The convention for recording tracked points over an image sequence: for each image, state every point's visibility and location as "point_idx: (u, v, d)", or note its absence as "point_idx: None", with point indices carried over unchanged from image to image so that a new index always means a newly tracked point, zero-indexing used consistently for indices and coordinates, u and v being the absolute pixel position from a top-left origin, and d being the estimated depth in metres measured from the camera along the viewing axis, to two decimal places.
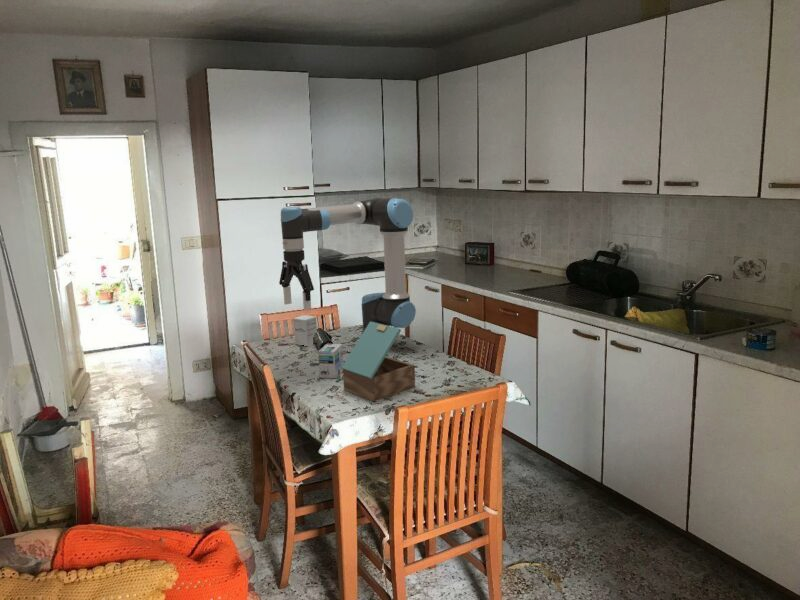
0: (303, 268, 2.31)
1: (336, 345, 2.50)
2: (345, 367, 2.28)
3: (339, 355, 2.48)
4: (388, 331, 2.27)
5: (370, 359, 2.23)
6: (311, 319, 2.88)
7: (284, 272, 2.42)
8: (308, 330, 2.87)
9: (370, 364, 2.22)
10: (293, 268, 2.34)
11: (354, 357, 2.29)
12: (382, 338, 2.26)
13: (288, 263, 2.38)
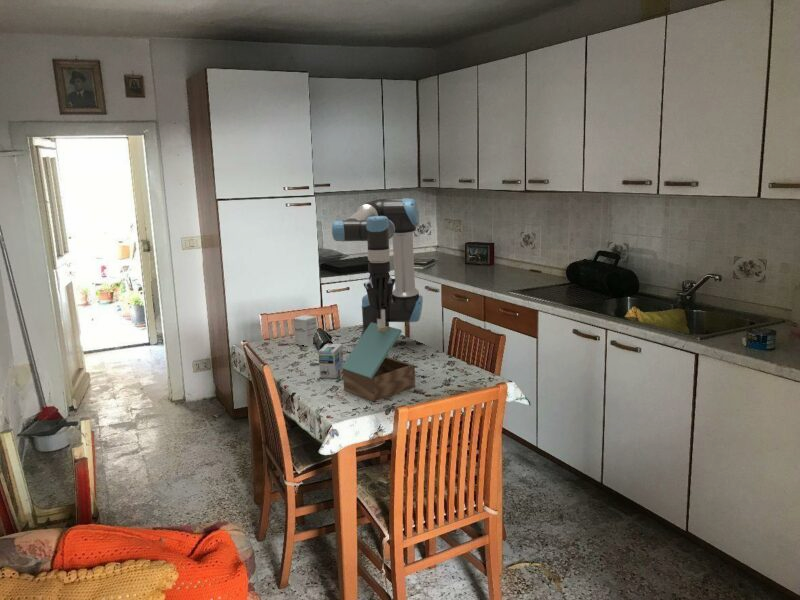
0: (365, 287, 2.22)
1: (336, 345, 2.50)
2: (345, 367, 2.28)
3: (339, 355, 2.48)
4: (389, 331, 2.27)
5: (370, 360, 2.23)
6: (311, 319, 2.88)
7: (386, 289, 2.29)
8: (308, 330, 2.87)
9: (370, 364, 2.22)
10: None
11: (354, 357, 2.29)
12: (383, 339, 2.26)
13: None
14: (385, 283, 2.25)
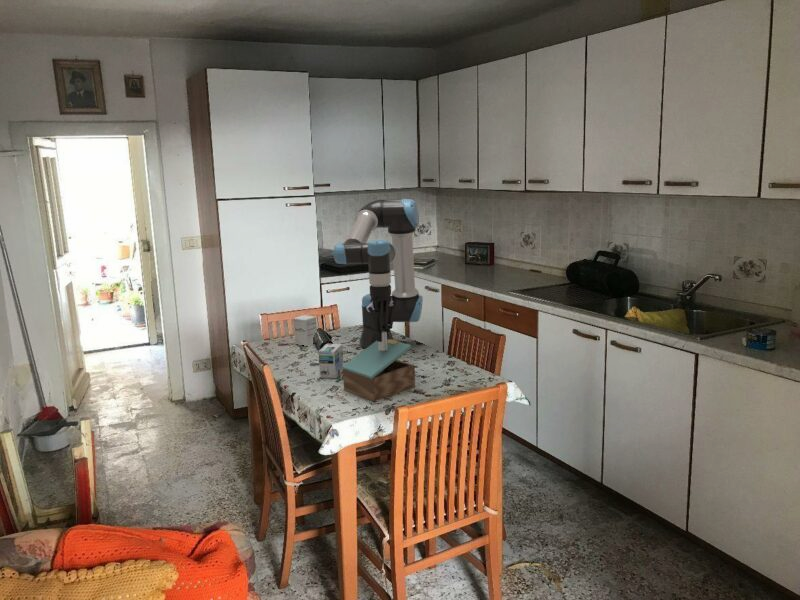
0: (367, 310, 2.24)
1: (336, 345, 2.50)
2: (346, 367, 2.28)
3: (339, 355, 2.48)
4: (398, 345, 2.31)
5: (374, 363, 2.25)
6: (311, 319, 2.88)
7: (388, 312, 2.31)
8: (308, 330, 2.87)
9: (373, 367, 2.23)
10: None
11: (358, 360, 2.30)
12: (391, 350, 2.30)
13: None
14: (386, 306, 2.27)
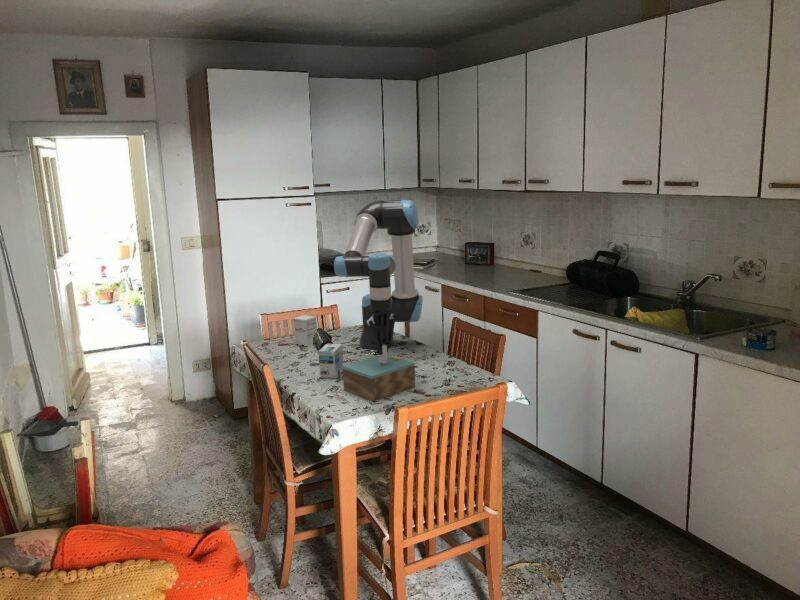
0: (367, 324, 2.25)
1: (336, 345, 2.50)
2: (347, 367, 2.29)
3: (339, 355, 2.48)
4: (402, 361, 2.33)
5: (376, 369, 2.25)
6: (311, 319, 2.88)
7: (388, 325, 2.32)
8: (308, 330, 2.87)
9: (375, 370, 2.23)
10: None
11: (359, 364, 2.31)
12: (394, 363, 2.32)
13: None
14: (387, 319, 2.28)
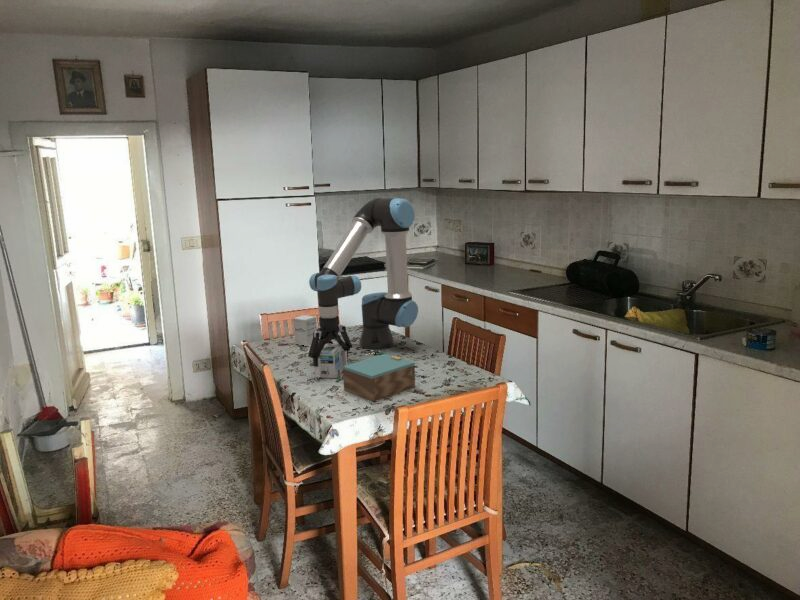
0: (313, 335, 2.42)
1: (336, 345, 2.50)
2: (347, 367, 2.29)
3: (338, 355, 2.48)
4: (402, 361, 2.33)
5: (376, 369, 2.25)
6: (311, 319, 2.88)
7: (342, 335, 2.52)
8: (308, 330, 2.87)
9: (375, 370, 2.23)
10: None
11: (359, 364, 2.31)
12: (394, 363, 2.32)
13: None
14: (336, 335, 2.47)
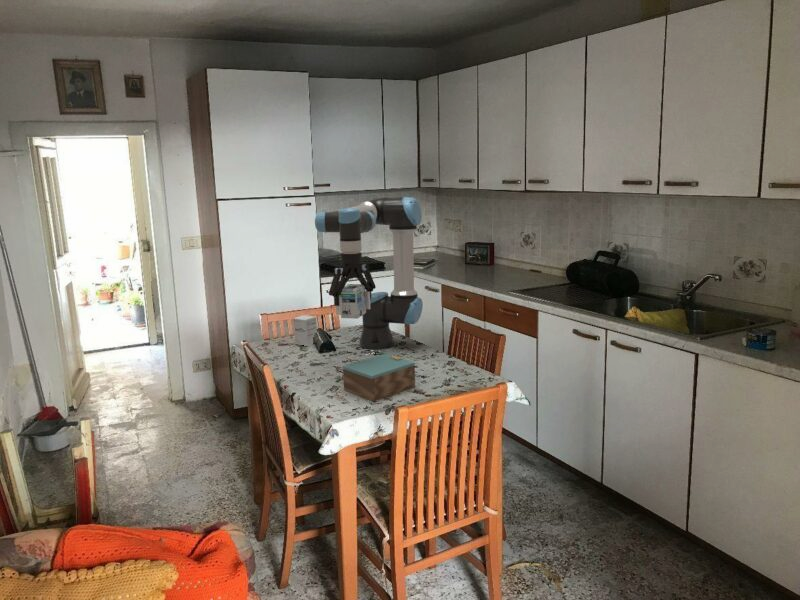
0: (335, 272, 2.27)
1: (358, 285, 2.35)
2: (347, 367, 2.29)
3: (361, 294, 2.32)
4: (402, 361, 2.33)
5: (376, 369, 2.25)
6: (311, 319, 2.88)
7: (365, 275, 2.36)
8: (308, 330, 2.87)
9: (375, 370, 2.23)
10: None
11: (359, 364, 2.31)
12: (394, 363, 2.32)
13: None
14: (359, 273, 2.31)
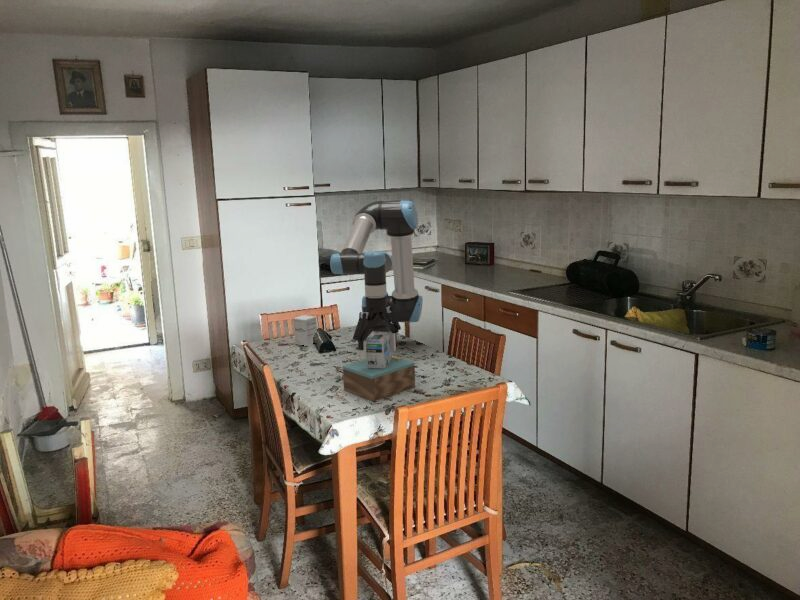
0: (360, 316, 2.22)
1: (383, 333, 2.31)
2: (347, 367, 2.29)
3: (387, 343, 2.28)
4: (402, 361, 2.33)
5: (376, 369, 2.25)
6: (311, 319, 2.88)
7: (390, 317, 2.32)
8: (308, 330, 2.87)
9: (375, 370, 2.23)
10: None
11: (359, 364, 2.31)
12: (394, 363, 2.32)
13: None
14: (384, 316, 2.27)
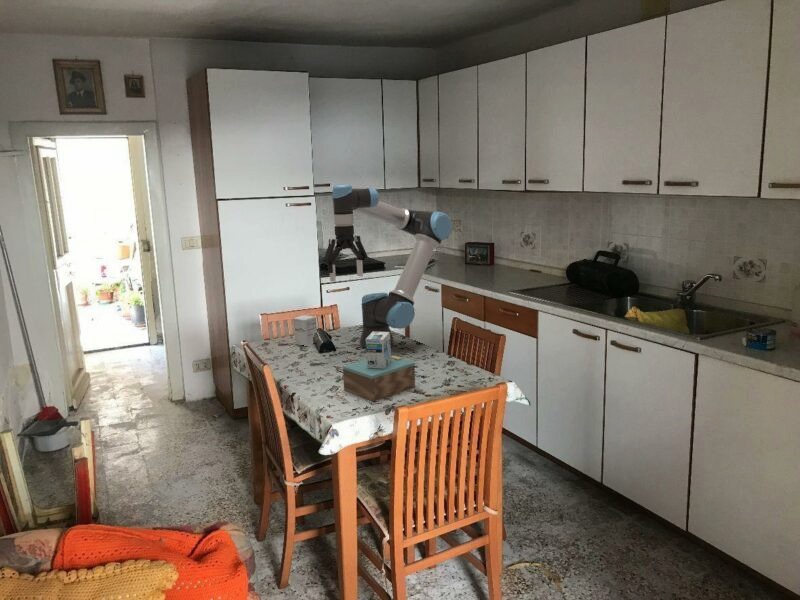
0: (329, 242, 2.49)
1: (383, 333, 2.31)
2: (347, 367, 2.29)
3: (387, 343, 2.28)
4: (402, 361, 2.33)
5: (376, 369, 2.25)
6: (311, 319, 2.88)
7: (357, 246, 2.58)
8: (308, 330, 2.87)
9: (375, 370, 2.23)
10: None
11: (359, 364, 2.31)
12: (394, 363, 2.32)
13: None
14: (351, 244, 2.53)
